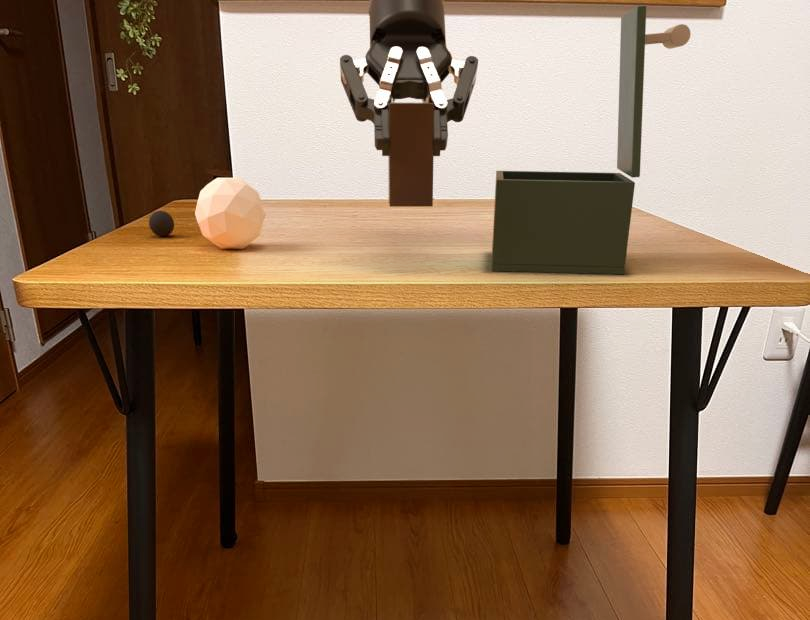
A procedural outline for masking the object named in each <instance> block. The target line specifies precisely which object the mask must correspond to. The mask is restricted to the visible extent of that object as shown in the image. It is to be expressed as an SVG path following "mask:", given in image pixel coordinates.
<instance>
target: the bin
mask: <svg viewBox="0 0 810 620" xmlns="http://www.w3.org/2000/svg"><path fill="white" fill-rule="evenodd" d="M635 187H636V182H635V181H633V180H632V179H630V178H628V177H627V176H626V175H624V174H622V173H621V172H591V171H589V172H588V171H540V170H539V171H534V170H496V171H495V188H494V189H495V190H494V207H493V224H492V225H493V226H492V243H491V272H516V273H517V272H518V273H519V272H522V273H523V272H524V273H558V274H593V275H594V274H595V275H598V274H599V275H625V267H626V261H627V252H628V245H629V244H628V243H629V236H630V227H631V219H632V213H633V212H632V211H633V203H634V195H635Z"/></svg>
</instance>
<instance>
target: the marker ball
mask: <svg viewBox="0 0 810 620" xmlns="http://www.w3.org/2000/svg"><path fill="white" fill-rule="evenodd" d="M148 227H149V229H150V230H151V232H152V233H153V234H154V235H155V236H157V237H168V236H170V234H172V233H173V231H174V229H175V221H174V218H173V216H172V215H171V214H170V213H169V212H167V211H166V210H165V211H164V210H156V211H154V212H153V213H151V215H150V217H149V219H148Z"/></svg>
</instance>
